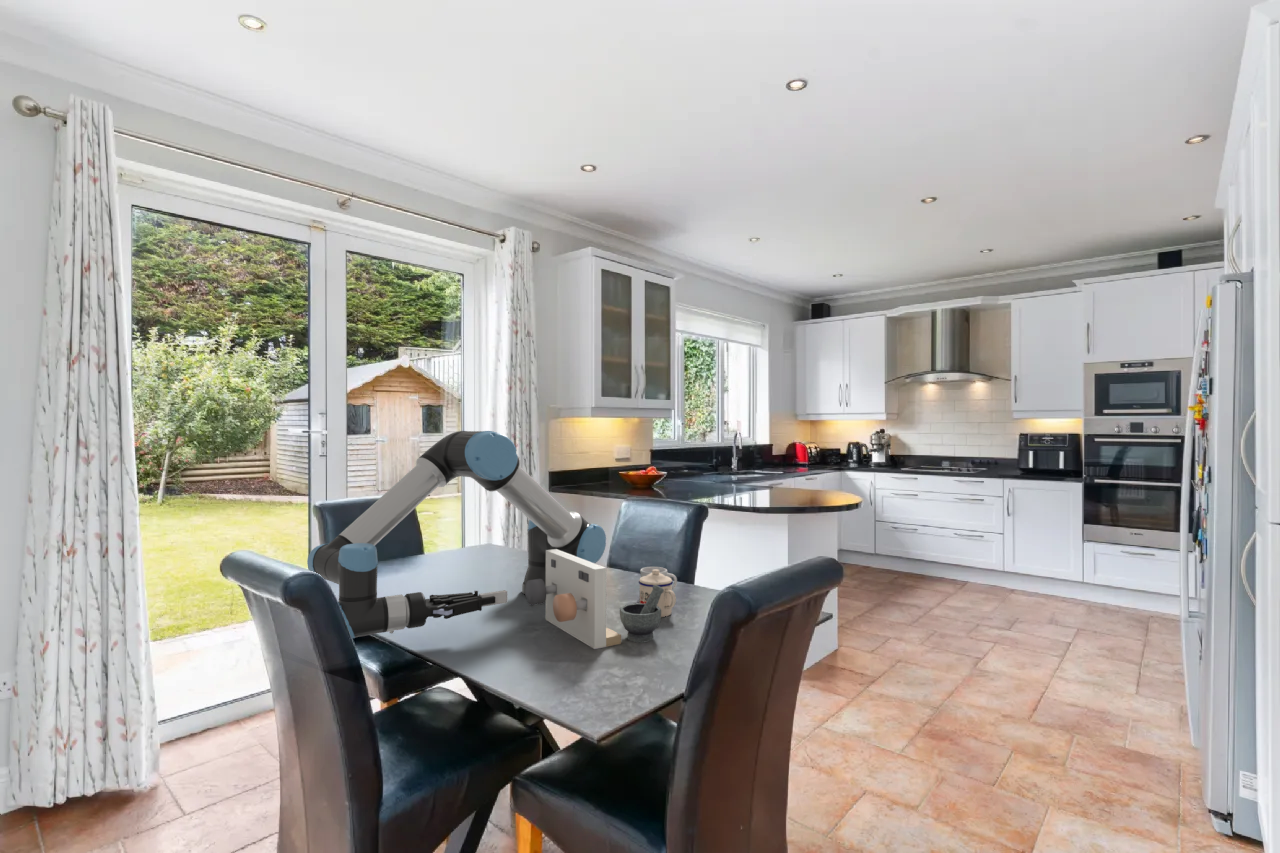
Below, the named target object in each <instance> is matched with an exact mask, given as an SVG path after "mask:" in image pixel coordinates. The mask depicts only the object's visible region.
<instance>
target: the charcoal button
mask: <svg viewBox="0 0 1280 853" xmlns="http://www.w3.org/2000/svg"><path fill="white" fill-rule="evenodd" d="M552 593H557V585H551V586H545V583H544V581H543V580H542V579H535V580H528V581H527V583H526V586H525V594H526V595H525V599H526V601H527V604H529V606H534V605H542V604H545V603H546V594H552Z"/></svg>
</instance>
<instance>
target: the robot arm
mask: <svg viewBox="0 0 1280 853" xmlns="http://www.w3.org/2000/svg"><path fill="white" fill-rule="evenodd" d="M415 462H416V463H415V464H416V465H415V466H413V468H412V469H410V471H408V472H407V473H406V474H405V475H404V476H403V477H402V478H400V479H399V481H398V482H396V483H395V484H394V485H393V486H392V487H391V488H390V489H388V490H387V491H386V492H385V493H384V494H383V495H382V496H380V497H379V499H377V500H376V501H375V502H374V503H373V504H372V505H371V506H369V508H367V509H366V510H365V511H364V512H363V513H362V514H360V515H359V516H358V517H357V518H356V519H355V520H354V521H353V522H352V523H350V524H349V525H348V526H347V527H345V528H344V530H343V531H342V532H340V533H339V534H338V535H337V536H336V537H335V538H334V539H333V540H331V541H330V542H329V543H322V544H319V545H317V546H315V547H314V548H313V549H312V550H311V551H310V552H309V555H308V556H307V568H308V570H309V571H310V572H311V571H313V572H316V573H318V574H320V575H321V576H322V577H323V578H324V579H325V580H324V579H323V580H324V581H329V582H331V583H333V584H337V585H338V604H339V606H340V608H341V611H342V613H343V616H344V619H345V622H346V625H347V627H348V630H349V632H350V635H351V637H352V638H351V639H355V638H358V637H359V638H360V637H365V636H371V635H376V634H383V633H387V632H389V634H394V632H395V631H401V630H404V629H405V628H407V629H414V628H421V627H424V626H425V624H426V623H427V619H428V618H430V617H431V618H432V617H433V618H434V619H438V618H442V616H443V619H444V620H445V619H446V620H447V619H450V618H453V617H455V616H456V617H457V616H460V615H464V614H469V613H473V612H477V611H479V612H481V611H482V609H483V608H482V607H489V606H497V605H502V604H506V603H507V604H508V591H507V590H503V589H502V590H497V591H490V592H482V593H479V590H474V593H473V592H472V591H470V592H462V593H461V592H460V593H449V594H430V595H429V598H426V597H425V595H424V593H423V592H420V591H419V592H418V591H417V592H412V593H406V594H405V595H404V594H394V595H389V596H383V597H378V565H379V561H378V560H379V559H378V552H377V551H378V550H377V546H376V545H377V544H378V543H380V542H381V540H382V539H383V538H384V537H386V536H387V535H388V534H389V533H390V532H391V531H392V530H393V529H394V528H395V527H396V526H398V524H400V522H402V521H403V520H404V519H405V518H406V517H407V516H408V515H409V514H410V513H412V512H413V511H414V510H415V509H416V508H417V507H418V506H419V505H420V504H421V503H422V502H423V501H424V500H426V498H427V497H428V496H430V495H431V493H433V492H434V491H435V490H436V489H437V488H438V487H439V488H443V487H445V486H446V485H448V484H449V483H450V481H452V480H454V479H456V478H459V477H465V478H471V479H472V480H474V481H475V482H476V483H478V484H479V485H480V486H481V487H483V488H484V489H485V490H486V491H487V492H491V493H492V492H497V493H499V494H500V495H501V496H502V497H503V498H504V499H506V500H507V501H508V502H509V503H510V504H511V505H513V507H514V508H516V509H517V510H518V511H519V512H521V513H522V515H523V516H525V517H526V519H527V518H528V527H527V552H528V553H527V556H528V557H527V560H528V562H527V570H526V572H525V576H524V578H523V579H524V580H523V581H522V584H521V586H522V587H521V589H522V590H521V592H522V594H523V595H524V594H525V586H526V583H527V581H528V580H535V579H542V580H543V581H544V583H545V586H546V550H551V549H558V550H560V551H563V552H566V553H568V554H571V555H574V556H576V557H579V558H582V559H584V560H587V561H589V562H592V563H595V564H597V563H598V561H600V559H601V558H602V557H603V555H604V553H605V551H606V546H607V542H606V541H607V535H606V531H605V529H604V528H603V527H602V526H600V525H598V524H597V523H590V522H588V521H587V520H586V519H585V518H584V517H582V515H581V514H580V513H578V512H577V511H574V510H573V511H572V510H571V511H568V510H567V509H566V508H565V507H564V506H563V505H562V504H561V503H560V502H559V501H557V499H555V498H554V497H553V496H552V495H551V494H550V493H549V492H548V491H547V490H546V489H545V488H543V486H541V485H540V483H539V482H538V481H536V480H535V479H534V478H533V477H532V476H531V475H530V474H529V473H528V472H527V471H526V470H524V469H523V467H521V459H520V457H519V456H518V454H517V448H516V446H515V443H514V442H513V441H512V439H511V438H509V437H508V436H507V435H505V434H503V433H500V432H497V431H493V430H482V431H481V430H478V431H477V430H476V431H475V430H473V431H472V430H471V431H469V430H459V431H455V432H452V433H449V434H448V435H446V436H444V437H443V438H440V440H438V441H437V442H436V443H435V444H433V445H432V446H430V447H429V448H428V449H427V450H426V451H425V452H424V453H422V454H421V455H419V457H418V458H417V459H416V461H415ZM524 596H526V594H525V595H524Z"/></svg>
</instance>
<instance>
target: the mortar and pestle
mask: <svg viewBox="0 0 1280 853" xmlns="http://www.w3.org/2000/svg"><path fill="white" fill-rule="evenodd" d="M663 592H664V589H663V588H662V587H660V586H657V585H654V586H653V590H652V592H651V594H650V596H649V598H648V600H647V602H646V603H645V604H640V602H638V603H631V604H625V605H623V606H622V607H620V608H619V618H620V622H621V623H622V625H623V628H624V629H625V630H626V631H627V635H626V638H627V639H628V641H631V642H634V643H646V642H651V641H652V640H653V639H654V633H653V632H654V631H655V630H656V629H657V628H658V627H659V625H660V623H661V619H662V617H661V609H660V608H659V607H658V606H657V604H658V602H659V599H660V596H661V594H662V593H663Z"/></svg>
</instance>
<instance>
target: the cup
mask: <svg viewBox="0 0 1280 853" xmlns="http://www.w3.org/2000/svg"><path fill="white" fill-rule="evenodd" d="M654 569H658V570H659V571H660V572H659V573H661V574H663V575H665V576H667V577H670V578H671V579H672V580H673V584H672V591H674V589H675V588H676V587H677V585H678V578H677V576H676V575H675V574H673V573H670V572H668V569H667V568H664V567H662V566H661V567H660V566H646V567H642V568H640V570H639V572H640V578H641V577H644V576H647V575H648V574H650V573H652V570H654Z"/></svg>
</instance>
